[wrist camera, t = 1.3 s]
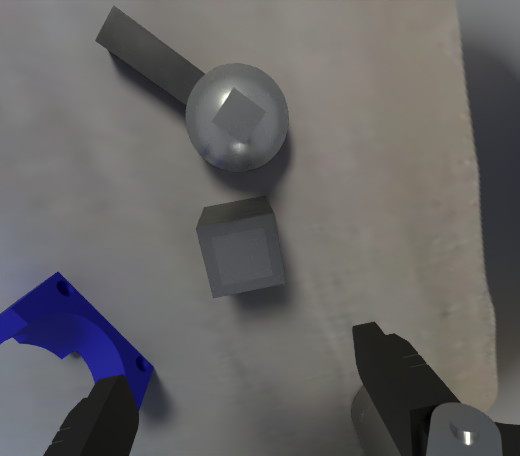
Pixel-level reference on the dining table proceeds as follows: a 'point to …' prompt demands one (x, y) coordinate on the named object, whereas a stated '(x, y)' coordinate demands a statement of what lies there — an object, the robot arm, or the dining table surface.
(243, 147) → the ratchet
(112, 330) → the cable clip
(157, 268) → the dining table surface
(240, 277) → the grey paneled cube
